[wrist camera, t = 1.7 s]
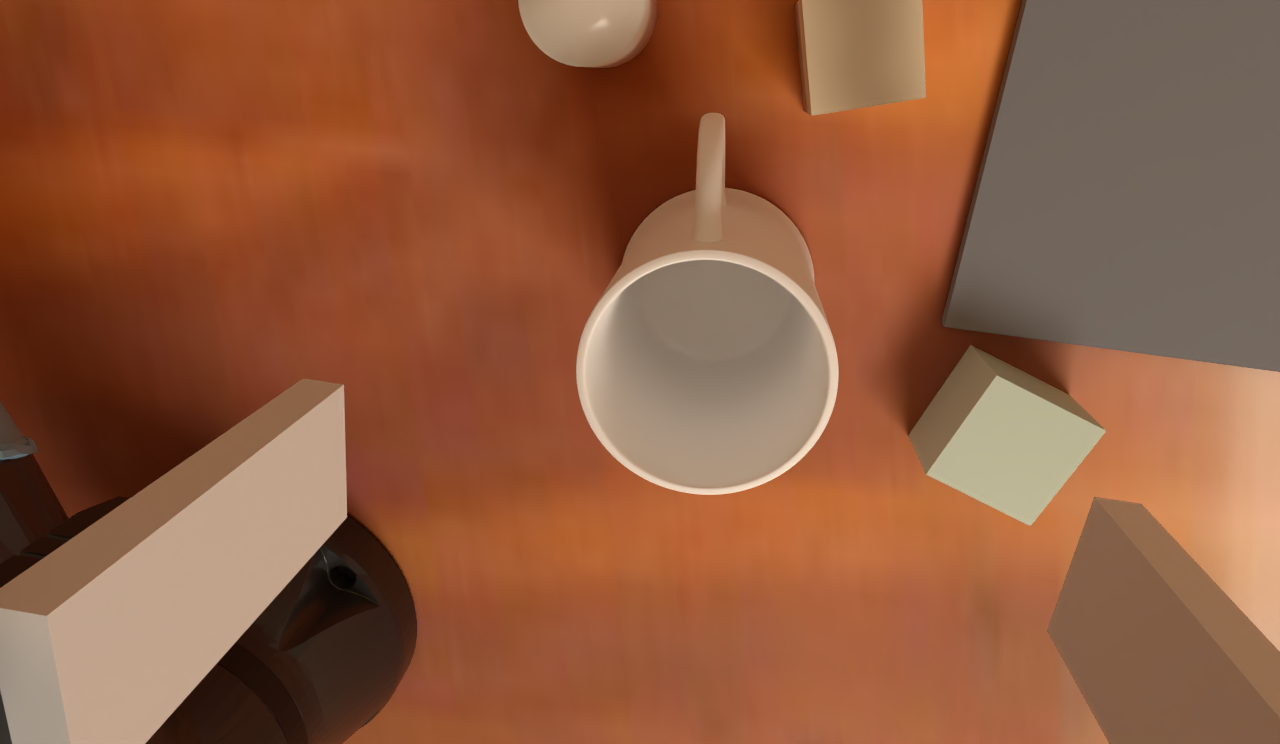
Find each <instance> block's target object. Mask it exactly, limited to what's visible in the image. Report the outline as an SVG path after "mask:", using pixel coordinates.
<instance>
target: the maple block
mask: <svg viewBox="0 0 1280 744" xmlns="http://www.w3.org/2000/svg"><path fill="white" fill-rule="evenodd" d="M795 15H796V27H797V38H798V50H799V61H800V73H801V84H802V96H803V107H804V111H805V112H806V113H808V114H810V115H811V116H813V115H819V114H825V113H832V112H838V111H844V110H851V109H857V108H864V107H870V106H876V105H883V104H889V103H895V102H902V101H908V100H915V99H921V98H926V86H925V60H924V34H923V8H922V0H798V1H797V3H796V4H795Z"/></svg>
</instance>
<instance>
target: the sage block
mask: <svg viewBox="0 0 1280 744" xmlns="http://www.w3.org/2000/svg"><path fill="white" fill-rule="evenodd" d="M1105 432H1106V430H1105V429H1104V428H1103V427H1102V426H1101V425H1100V424H1099V423H1098V422H1097V421H1096V420H1095V419H1094V418H1093V417H1092V416H1091V415H1090V414H1089V413H1087V412H1086V411H1085V410H1084V409H1083V408H1082V407H1081V406H1080V405H1079V404H1078V403H1077V402H1076V401H1075V400H1074V399H1073V398H1072V397H1071V396H1070V395H1069V394H1067V393H1065V392H1063V391H1061V390H1059V389H1057V388H1055V387H1053V386H1051V385H1049V384H1047V383H1045V382H1043V381H1041V380H1039V379H1037V378H1035V377H1033V376H1031V375H1029V374H1027V373H1025V372H1023V371H1021V370H1020V369H1018V368H1016V367H1014V366H1012V365H1010V364H1008V363H1006V362H1004V361H1002V360H1000V359H998V358H996V357H994V356H992V355H990V354H988V353H986V352H984V351H982V350H980V349H978V348H976V347H974V346H972V345H970V346H969V348H968V349H967V351H966V352H965V354H964V355H963V356H962V358H961V359H960V361H959V362H958V364H957V365H956V367H955V368H954V370H953V371H952V372H951V374H950V375H949V377H948V378H947V380H946V381H945V383H944V384H943V386H942V387H941V388H940V390H939V391H938V393H937V394H936V396H935V397H934V399H933V400H932V402H931V403H930V404H929V406H928V407H927V409H926V410H925V412H924V413H923V415H922V416H921V418H920V419H919V420H918V422H917V423H916V425H915V426H914V428H913V429H912V431H911V432H910V434H909V435H908V436H909V439H910V441H911V443H912V445H913V447H914V449H915V452H916V454H917V456H918V458H919V460H920V462H921V464H922V467H923V469H924V471H925V473H926V475H928V476H930V477H932V478H934V479H936V480H938V481H941V482H943V483H945V484H947V485H949V486H951V487H953V488H955V489H957V490H959V491H961V492H963V493H965V494H967V495H969V496H971V497H973V498H975V499H977V500H979V501H981V502H983V503H985V504H987V505H989V506H991V507H993V508H995V509H997V510H999V511H1001V512H1003V513H1005V514H1007V515H1009V516H1011V517H1013V518H1015V519H1017V520H1019V521H1021V522H1023V523H1025V524H1027V525H1029V526H1031V525H1032V523H1033V522H1034V521H1035V520H1036V518H1037V517H1038V516H1039V515H1040V513H1041V512H1042V511H1043V510H1044V508H1045V507H1046V506H1047V505H1048V503H1049V502H1050V501H1051V500H1052V498H1053V497H1054V496H1055V495H1056V493H1057V492H1058V491H1059V490H1060V488H1061V487H1062V486H1063V485H1064V483H1065V482H1066V481H1067V480H1068V478H1069V477H1070V476H1071V474H1072V473H1073V472H1074V471H1075V469H1076V468H1077V467H1078V466H1079V464H1080V463H1081V462H1082V461H1083V459H1084V458H1085V457H1086V456H1087V454H1088V453H1089V452H1090V451H1091V449H1092V448H1093V447H1094V446H1095V444H1096V443H1097V442H1098V441H1099V439H1100V438H1101V437H1102V436H1103V434H1104V433H1105Z"/></svg>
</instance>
